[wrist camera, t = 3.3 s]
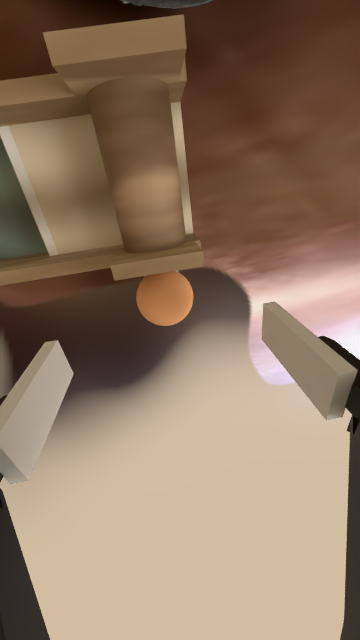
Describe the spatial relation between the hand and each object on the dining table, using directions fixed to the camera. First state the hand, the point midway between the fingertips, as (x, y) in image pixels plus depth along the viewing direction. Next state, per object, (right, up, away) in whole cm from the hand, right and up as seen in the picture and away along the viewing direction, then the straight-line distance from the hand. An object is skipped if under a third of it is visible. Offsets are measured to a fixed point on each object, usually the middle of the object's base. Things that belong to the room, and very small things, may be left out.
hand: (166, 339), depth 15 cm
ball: (0, +3, +6) cm, 6 cm away
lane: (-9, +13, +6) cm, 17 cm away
